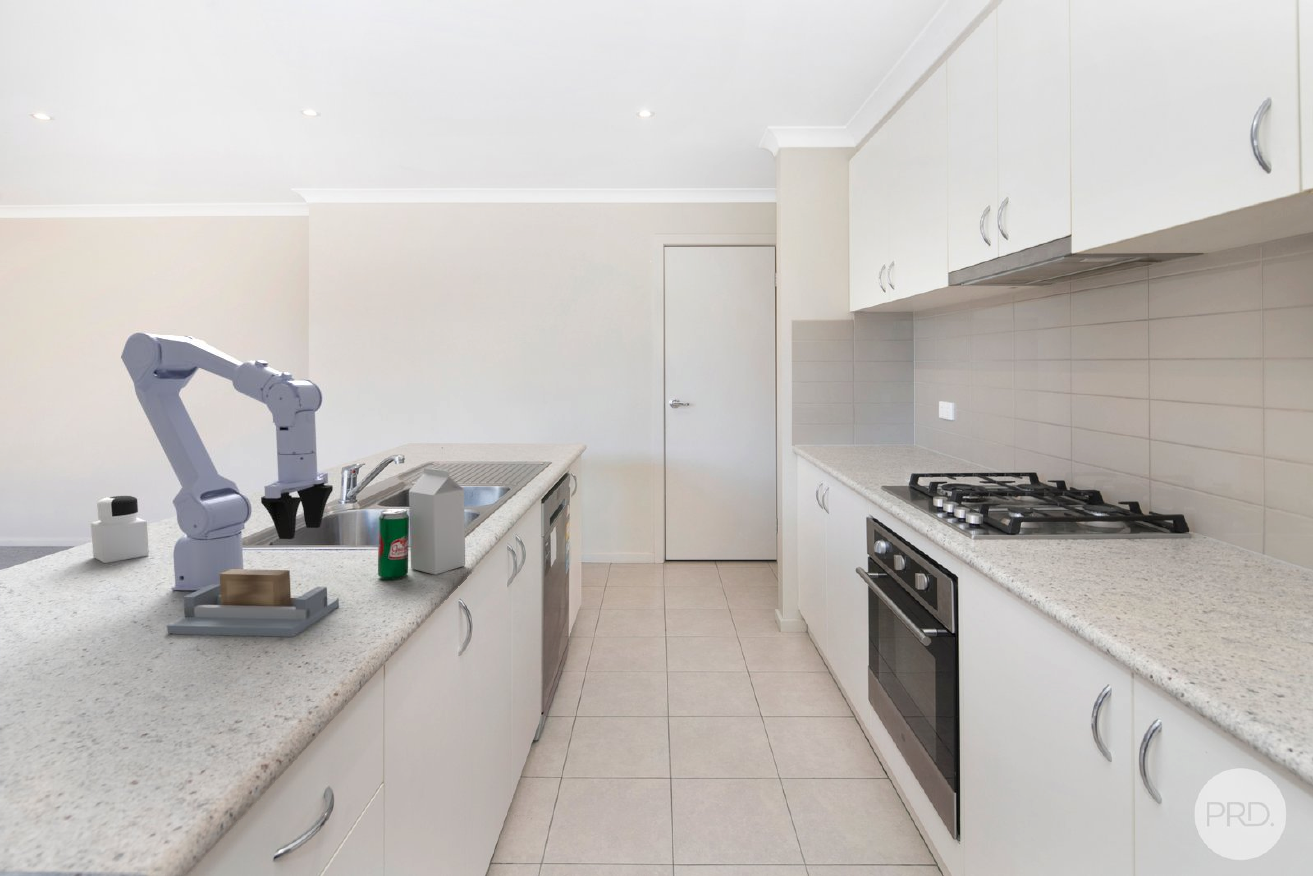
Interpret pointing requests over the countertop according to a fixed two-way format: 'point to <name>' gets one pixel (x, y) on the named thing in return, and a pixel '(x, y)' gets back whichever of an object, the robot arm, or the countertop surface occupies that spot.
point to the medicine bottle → (119, 530)
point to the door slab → (255, 587)
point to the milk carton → (436, 523)
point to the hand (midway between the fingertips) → (300, 532)
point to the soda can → (393, 544)
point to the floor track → (250, 615)
